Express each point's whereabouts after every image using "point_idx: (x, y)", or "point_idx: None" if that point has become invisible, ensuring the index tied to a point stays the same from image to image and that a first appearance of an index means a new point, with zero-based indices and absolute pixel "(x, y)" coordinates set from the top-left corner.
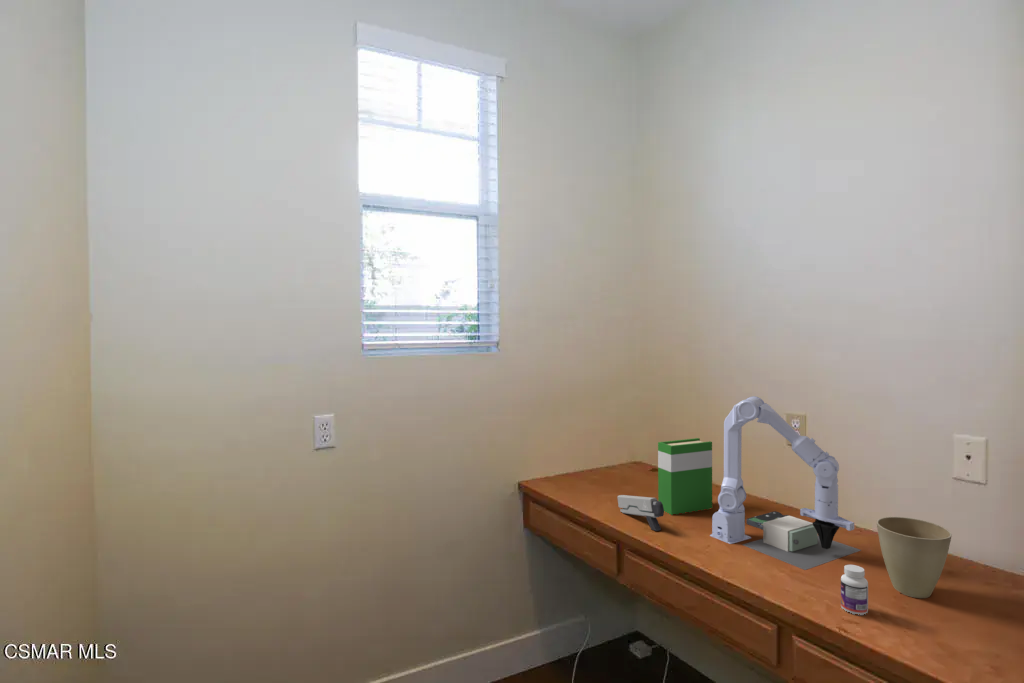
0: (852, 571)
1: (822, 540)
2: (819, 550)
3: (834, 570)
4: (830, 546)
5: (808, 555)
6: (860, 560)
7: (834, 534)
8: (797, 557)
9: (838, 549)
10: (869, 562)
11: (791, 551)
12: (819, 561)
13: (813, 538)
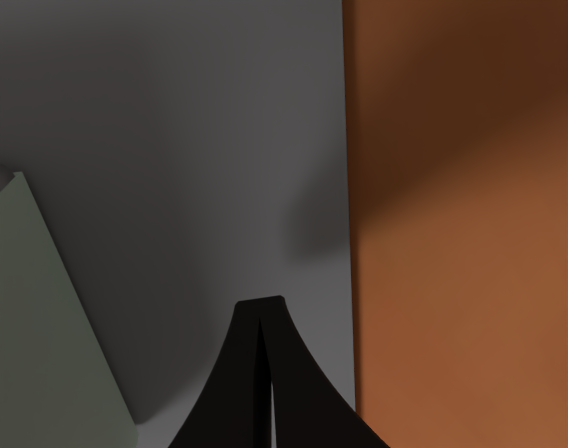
0: None
1: (271, 428)
2: (164, 256)
3: (433, 373)
4: (285, 305)
5: None
6: (459, 77)
7: (342, 404)
8: None
9: (201, 69)
10: (535, 38)
11: None
12: None
13: (21, 273)
